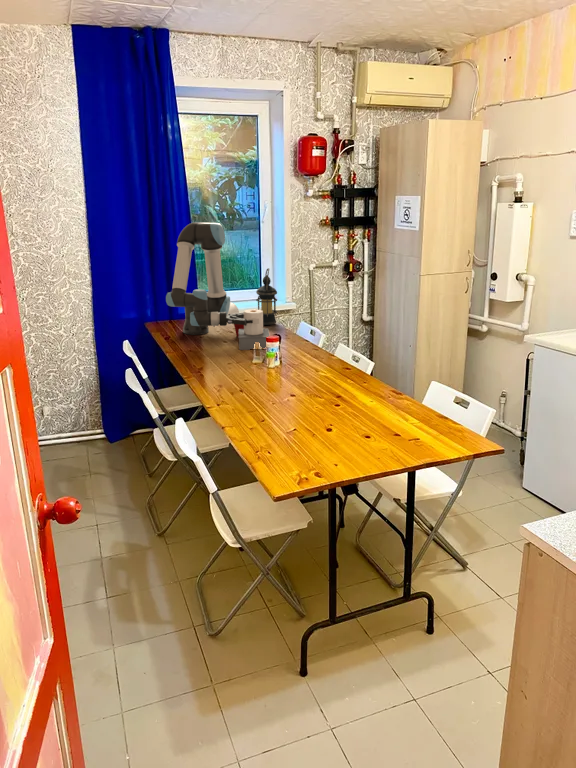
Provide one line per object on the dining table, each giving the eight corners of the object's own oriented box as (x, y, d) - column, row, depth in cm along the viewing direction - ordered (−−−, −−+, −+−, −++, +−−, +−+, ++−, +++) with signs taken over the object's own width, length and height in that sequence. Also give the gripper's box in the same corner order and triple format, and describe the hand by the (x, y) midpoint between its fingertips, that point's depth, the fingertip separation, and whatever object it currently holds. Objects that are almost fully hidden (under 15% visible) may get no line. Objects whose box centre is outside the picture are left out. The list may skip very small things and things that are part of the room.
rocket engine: (212, 309, 373) (230, 298, 385) (204, 318, 381) (222, 308, 393) (224, 323, 373) (241, 313, 385) (215, 332, 381) (233, 321, 393)
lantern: (255, 322, 382) (255, 266, 371) (276, 321, 383) (276, 266, 372) (257, 327, 369) (256, 270, 357) (278, 326, 370) (278, 269, 359)
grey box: (238, 341, 337) (238, 329, 334) (268, 340, 338) (268, 328, 335) (238, 349, 319) (238, 337, 317) (269, 349, 320) (269, 336, 318)
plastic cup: (228, 337, 344) (228, 317, 340) (237, 333, 353) (236, 313, 350) (245, 339, 340) (245, 318, 336) (253, 335, 350) (253, 315, 346)
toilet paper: (256, 336, 319) (255, 313, 315) (240, 333, 325) (240, 311, 321) (266, 332, 327) (266, 310, 324) (251, 329, 333) (251, 308, 329)
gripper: (220, 320, 335) (257, 320, 337) (218, 331, 312) (259, 330, 313) (219, 307, 333) (257, 306, 334) (218, 316, 309) (259, 316, 311)
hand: (258, 318), depth 324 cm, fingers open, 13 cm apart
